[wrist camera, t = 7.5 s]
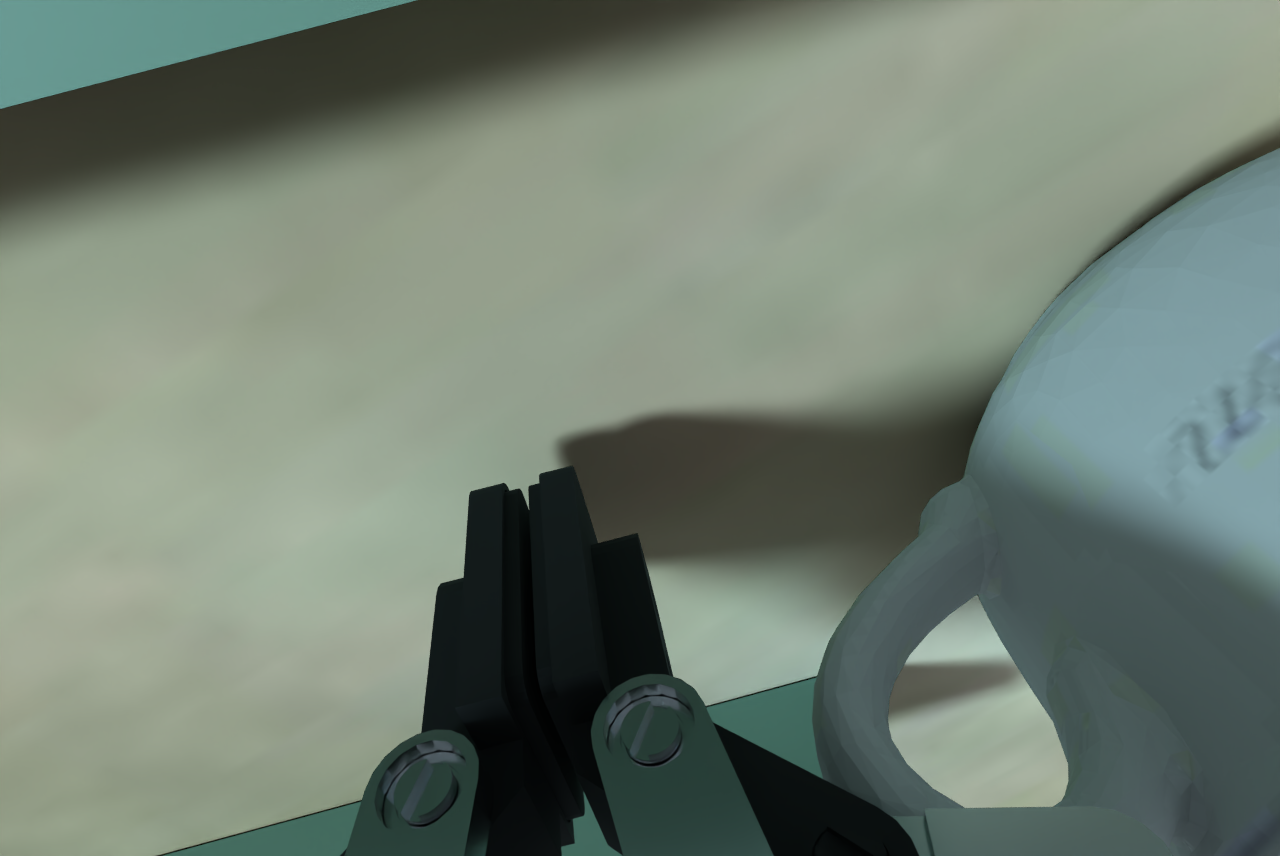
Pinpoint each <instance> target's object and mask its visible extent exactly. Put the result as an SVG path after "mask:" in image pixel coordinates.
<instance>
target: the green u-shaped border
mask: <svg viewBox="0 0 1280 856" xmlns="http://www.w3.org/2000/svg"><path fill="white" fill-rule="evenodd" d="M412 1H416V0H0V109H1V108H5V107H9V106H13V105H17V104H21V103H24V102H28V101H32V100H36V99H40V98H44V97H47V96H51V95H55V94H59V93H63V92H67V91H70V90H74V89H78V88H82V87H86V86H90V85H93V84H97V83H101V82H105V81H109V80H113V79H116V78H120V77H124V76H128V75H132V74H136V73H139V72H143V71H147V70H151V69H155V68H159V67H162V66H166V65H170V64H174V63H178V62H182V61H186V60H189V59H193V58H197V57H201V56H205V55H209V54H212V53H216V52H220V51H224V50H228V49H232V48H235V47H239V46H243V45H247V44H251V43H255V42H258V41H262V40H266V39H270V38H274V37H278V36H281V35H285V34H289V33H293V32H297V31H301V30H304V29H308V28H312V27H316V26H320V25H324V24H328V23H331V22H335V21H339V20H343V19H347V18H351V17H354V16H358V15H362V14H366V13H370V12H374V11H377V10H381V9H385V8H389V7H393V6H397V5H400V4H404V3H408V2H412ZM815 681H816V678H813V679H809V680H806V681H802V682H798V683H795V684H791V685H787V686H784V687H780V688H776V689H773V690H769V691H765V692H762V693H758V694H754V695H751V696H747V697H743V698H740V699H736V700H732V701H729V702H725V703H721V704H718V705H714V706H710V707H707V708H706V709H707V711H708V713H709V715H710V717H711V720H712V722H714V723H716V724H717V725H719V726H721V727H723V728H725V729H727V730H729V731H731V732H733V733H735V734H737V735H739V736H741V737H743V738H745V739H747V740H748V741H750V742H752V743H754V744H756V745H758V746H760V747H762V748H764V749H766V750H768V751H770V752H772V753H774V754H776V755H778V756H780V757H781V758H783V759H785V760H787V761H789V762H791V763H793V764H795V765H797V766H799V767H801V768H803V769H805V770H807V771H809V772H811V773H813V774H814V775H816V776H818V777H820V778H822V779H823V777H822V773H821V769H820V765H819V762H818V758H817V752H816V745H815V738H814V731H813V724H812V713H813V696H814V684H815ZM583 792H584V791H583ZM584 803H585V814H584V816H582V817H578V818H574V819H573V827H574V839H575V843H574V844H570V845H567V846H563V847H561V850H562V856H623V855H621V854H620V853H618V852H617V851H615V850H614V849H613V848H611V847H610V846H608V844H607V842H606V840H605V838H604V836H603V833H602V831H601V829H600V827H599V824H598V822H597V820H596V818H595V815H594V813H593V811H592V809H591V807H590V804H589V802H588V800H587V798H586V795H585V793H584ZM360 804H361V802H358V803H354V804H350V805H347V806H343V807H339V808H336V809H332V810H328V811H325V812H321V813H317V814H314V815H310V816H306V817H303V818H299V819H295V820H292V821H288V822H284V823H281V824H277V825H273V826H270V827H266V828H262V829H259V830H255V831H251V832H248V833H244V834H240V835H237V836H233V837H229V838H226V839H222V840H218V841H215V842H211V843H207V844H204V845H200V846H196V847H193V848H189V849H185V850H182V851H178V852H174V853H170V854H167V855H163V856H340V855H341V854H342V853H343V852H344V851H345V850H346V848H347V846H348V843H349V840H350V836H351V833H352V830H353V827H354V824H355V820H356V817H357V814H358V811H359V807H360Z"/></svg>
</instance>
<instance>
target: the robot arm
mask: <svg viewBox="0 0 1280 856" xmlns="http://www.w3.org/2000/svg"><path fill="white" fill-rule="evenodd" d="M528 491H529V509H528V506H527V504H526V501H525V498H524V496H523V493H522V491H521V490H520V489H515V490H511V491H509V489H508V487H507V485H506V484H505V483H502V484H498V485H494V486H490V487H486V488H482V489H478V490H474V491H471V492H470V495H469V506H468V521H467V536H466V551H465V566H464V578H461V579H457V580H453V581H449V582H445V583H441V584H440V586H439V587H438V590H437V595H436V603H435V612H434V621H433V631H432V640H431V649H430V658H429V668H428V677H427V686H426V695H425V705H424V714H423V723H422V732H421V733H420V734H417V735H415V736H413V737H411V738H409V739H408V740H406V741H404V742H402V743H400V744H399V745H398V746H397V747H396V748H394V749H393V750H392V751H391V752H390V753H389V754H388V755H386V756H385V757H384V759H383V760H382V761H381V763H380V764H379V765H378V767H377V768H376V769H375V771H374V772H373V774H372V776H371V778H370V780H369V782H368V785H367V787H366V789H365V791H364V795H363V798H362V801H361V804H360V807H359V811H358V814H357V817H356V820H355V824H354V827H353V830H352V833H351V836H350V840H349V843H348V846H347V848H346V850H345V851H344V852H343V853H342V854H341V855H340V856H562V850H561V847H563V846H567V845H570V844H574V843H575V839H574V827H573V819H574V818H578V817H582V816H584V814H585V803H584V793H585V795H586V798H587V800H588V802H589V804H590V807H591V809H592V811H593V813H594V815H595V818H596V820H597V822H598V824H599V827H600V829H601V831H602V833H603V836H604V838H605V840H606V842H607V844H608V846H610V847H611V848H613V849H614V850H615V851H617V852H618V853H620V854H621V855H623V856H1174V855H1173V854H1172V853H1171V851H1170V850H1169V848H1168V847H1167V845H1166V844H1165V842H1164V841H1163V840H1162V839H1161V838H1159V837H1158V836H1157V835H1156V834H1155V833H1153V832H1152V831H1151V830H1150V829H1149V828H1147V827H1146V826H1145V825H1144V824H1143V823H1141V822H1140V821H1137V820H1135V819H1133V818H1131V817H1129V816H1127V815H1125V814H1123V813H1121V812H1118V811H1116V810H1111V809H1105V808H1099V807H1092V806H1077V807H1004V808H931V809H924V816H890V815H888V814H887V813H885V812H884V811H883V810H881V809H880V808H878V807H877V806H875V805H873V804H871V803H869V802H867V801H865V800H863V799H861V798H859V797H857V796H855V795H853V794H851V793H849V792H847V791H846V790H844V789H842V788H840V787H838V786H836V785H834V784H832V783H830V782H828V781H826V780H824V779H822V778H820V777H818V776H816V775H814V774H813V773H811V772H809V771H807V770H805V769H803V768H801V767H799V766H797V765H795V764H793V763H791V762H789V761H787V760H785V759H783V758H781V757H780V756H778V755H776V754H774V753H772V752H770V751H768V750H766V749H764V748H762V747H760V746H758V745H756V744H754V743H752V742H750V741H748V740H747V739H745V738H743V737H741V736H739V735H737V734H735V733H733V732H731V731H729V730H727V729H725V728H723V727H721V726H719V725H717V724H716V723H714V722H712V720H711V717H710V715H709V713H708V711H707V709H706V706H705V704H704V702H703V701H702V699H701V698H700V696H699V695H698V693H697V692H696V690H695V689H694V688H693V687H691V686H690V685H688V684H687V683H686V682H684V681H683V680H681V679H679V678H675V677H673V674H672V669H671V665H670V661H669V656H668V652H667V648H666V643H665V639H664V635H663V631H662V626H661V622H660V618H659V613H658V609H657V605H656V601H655V597H654V593H653V589H652V585H651V581H650V577H649V573H648V569H647V566H646V562H645V558H644V554H643V551H642V547H641V543H640V540H639V536H638V533H636V534H632V535H628V536H625V537H621V538H617V539H613V540H609V541H605V542H601V543H598V542H597V538H596V535H595V532H594V529H593V526H592V523H591V519H590V516H589V513H588V510H587V507H586V503H585V500H584V497H583V494H582V491H581V488H580V484H579V481H578V478H577V475H576V472H575V469H574V467H573V466H569V467H565V468H561V469H557V470H553V471H549V472H545V473H541V474H540V475H539V484H535V485H531V486H529V489H528ZM583 791H584V792H583Z"/></svg>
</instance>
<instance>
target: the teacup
mask: <svg viewBox="0 0 1280 856" xmlns="http://www.w3.org/2000/svg"><path fill="white" fill-rule="evenodd" d="M975 595H978V596H979V599H980V602H981V604H982V606H983V608H984V610H985V612H986V614H987V616H988V618H989V619H990V621H991V623H992V625H993V627H994V629H995V631H996V632H997V634H998V636H999V638H1000V640H1001V641H1002V643H1003V645H1004V646H1005V648H1006V650H1007V651H1008V653H1009V654H1010V656H1011V658H1012V659H1013V661H1014V662H1015V664H1016V666H1017V667H1018V669H1019V670H1020V672H1021V674H1022V675H1023V677H1024V678H1025V680H1026V682H1027V683H1028V685H1029V686H1030V688H1031V689H1032V691H1033V692H1034V694H1035V695H1036V697H1037V698H1038V700H1039V701H1040V703H1041V704H1042V706H1043V707H1044V709H1045V710H1046V712H1047V713H1048V715H1049V716H1050V718H1051V719H1052V721H1053V723H1054V725H1055V728H1056V731H1057V734H1058V737H1059V739H1060V742H1061V745H1062V748H1063V751H1064V754H1065V756H1066V759H1067V762H1068V777H1069V781H1068V785H1067V789H1066V792H1065V796H1064V797H1063V799H1062V801H1061V802H1059V803H1058V804H1056V805H1055V806H1053V807H1077V806H1092V807H1099V808H1105V809H1111V810H1116V811H1118V812H1121V813H1123V814H1125V815H1127V816H1129V817H1131V818H1133V819H1135V820H1137V821H1140V822H1141V823H1143V824H1144V825H1145V826H1146V827H1147V828H1149V829H1150V830H1151V831H1152V832H1153V833H1155V834H1156V835H1157V836H1158V837H1159V838H1161V839H1162V840H1163V841H1164V842H1165V844H1166V845H1167V847H1168V848H1169V850H1170V851H1171V853H1172V854H1173V855H1174V856H1280V148H1279V149H1276V150H1274V151H1272V152H1270V153H1268V154H1266V155H1263V156H1261V157H1259V158H1257V159H1255V160H1253V161H1251V162H1248V163H1246V164H1244V165H1242V166H1240V167H1238V168H1236V169H1234V170H1232V171H1230V172H1228V173H1226V174H1224V175H1222V176H1221V177H1219V178H1217V179H1215V180H1213V181H1211V182H1210V183H1208V184H1206V185H1204V186H1202V187H1201V188H1199V189H1197V190H1195V191H1193V192H1192V193H1190V194H1189V195H1187V196H1186V197H1184V198H1183V199H1181V200H1180V201H1178V202H1177V203H1175V204H1174V205H1172V206H1171V207H1169V208H1168V209H1166V210H1165V211H1163V212H1162V213H1160V214H1159V215H1157V216H1156V217H1154V218H1153V219H1151V220H1150V221H1149V222H1148V223H1146V224H1145V225H1144V226H1143V227H1141V228H1140V229H1138V230H1137V231H1135V232H1134V233H1133V234H1131V235H1130V236H1129V237H1127V238H1126V239H1125V240H1123V241H1122V242H1121V243H1119V244H1118V245H1117V246H1115V247H1114V248H1113V249H1111V250H1110V251H1109V252H1107V253H1106V254H1105V255H1103V256H1102V257H1101V258H1099V259H1098V260H1097V261H1095V262H1094V263H1093V264H1091V265H1090V266H1089V267H1088V268H1087V269H1086V270H1085V271H1084V272H1083V273H1082V274H1081V275H1080V276H1079V277H1078V278H1077V279H1076V280H1075V281H1073V282H1072V283H1071V284H1070V285H1069V286H1068V287H1067V288H1066V289H1065V290H1064V291H1063V292H1062V293H1061V294H1060V295H1059V296H1058V297H1057V298H1056V300H1055V301H1054V302H1053V303H1052V304H1051V305H1050V306H1049V307H1048V309H1047V310H1046V311H1045V312H1044V314H1043V315H1042V316H1041V317H1040V319H1039V320H1038V321H1037V323H1036V324H1035V325H1034V327H1033V328H1032V329H1031V330H1030V332H1029V333H1028V335H1027V336H1026V338H1025V339H1024V341H1023V342H1022V344H1021V345H1020V347H1019V348H1018V350H1017V351H1016V353H1015V354H1014V356H1013V358H1012V360H1011V362H1010V364H1009V366H1008V368H1007V370H1006V372H1005V374H1004V376H1003V378H1002V379H1001V381H1000V383H999V384H998V386H997V388H996V389H995V391H994V392H993V394H992V396H991V399H990V401H989V403H988V405H987V408H986V410H985V412H984V415H983V417H982V419H981V422H980V424H979V426H978V429H977V432H976V434H975V437H974V440H973V443H972V445H971V448H970V452H969V456H968V461H967V465H966V469H965V473H964V477H963V478H962V479H961V481H959V482H956V483H954V484H952V485H950V486H948V487H946V488H943V489H941V490H940V491H939V492H938V493H937V494H936V495H935V496H934V497H932V498H931V499H930V500H929V502H928V504H927V505H926V507H925V509H924V510H923V512H922V513H921V519H920V525H919V532H918V537H917V538H916V539H915V540H914V541H913V542H912V543H911V544H909V545H908V546H907V547H906V548H905V549H904V550H903V551H902V552H901V553H900V554H899V555H898V556H897V557H896V558H895V559H894V560H893V561H892V562H891V563H890V564H889V565H888V566H887V567H886V568H885V569H884V570H883V571H882V572H881V573H880V574H879V575H878V576H877V577H876V578H875V579H874V580H873V581H872V582H871V583H870V584H869V585H868V586H867V587H866V588H865V589H864V590H863V591H862V593H861V594H860V595H859V596H858V598H857V599H856V600H855V602H854V603H853V605H852V606H851V608H850V609H849V611H848V612H847V614H846V615H845V617H844V618H843V620H842V621H841V622H840V624H839V625H838V627H837V629H836V630H835V632H834V633H833V635H832V637H831V638H830V640H829V643H828V645H827V648H826V650H825V653H824V656H823V660H822V663H821V666H820V669H819V672H818V675H817V678H816V681H815V684H814V696H813V713H812V724H813V731H814V738H815V745H816V752H817V758H818V762H819V765H820V769H821V773H822V777H823V779H824V780H826V781H828V782H830V783H832V784H834V785H836V786H838V787H840V788H842V789H844V790H846V791H847V792H849V793H851V794H853V795H855V796H857V797H859V798H861V799H863V800H865V801H867V802H869V803H871V804H873V805H875V806H877V807H878V808H880V809H881V810H883V811H884V812H885V813H887V814H888V815H890V816H924V809H931V808H964V807H963V806H961V805H959V804H958V803H956V802H954V801H953V800H951V799H949V798H948V797H946V796H944V795H943V794H941V793H939V792H938V791H936V790H935V789H933V788H932V787H931V786H930V785H929V784H928V783H926V782H925V781H924V780H923V779H922V778H921V777H920V776H919V775H918V774H917V773H916V772H915V771H914V770H913V769H912V768H911V767H910V766H908V765H907V763H906V762H905V760H904V758H903V757H902V755H901V754H900V752H899V750H898V749H897V747H896V746H895V744H894V743H893V741H892V739H891V734H890V730H889V724H888V712H889V698H890V695H891V691H892V688H893V685H894V682H895V680H896V678H897V676H898V675H899V673H900V671H901V669H902V668H903V666H904V664H905V662H906V660H907V659H908V657H909V655H910V654H911V653H912V652H913V650H914V649H915V648H916V647H917V646H918V645H919V643H920V642H921V641H922V640H923V639H924V638H925V637H926V635H927V634H928V633H929V632H930V631H931V630H932V629H933V628H935V627H936V626H937V625H938V624H939V623H940V622H941V621H943V620H944V619H945V618H946V617H947V616H948V615H949V614H950V613H952V612H953V611H955V610H956V609H957V608H959V607H960V606H961V605H963V604H964V603H966V602H967V601H968V600H970V599H971V598H972V597H974V596H975Z"/></svg>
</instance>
